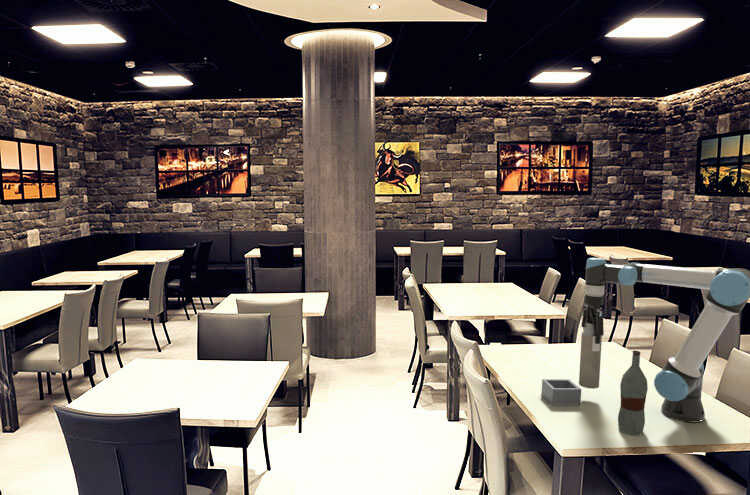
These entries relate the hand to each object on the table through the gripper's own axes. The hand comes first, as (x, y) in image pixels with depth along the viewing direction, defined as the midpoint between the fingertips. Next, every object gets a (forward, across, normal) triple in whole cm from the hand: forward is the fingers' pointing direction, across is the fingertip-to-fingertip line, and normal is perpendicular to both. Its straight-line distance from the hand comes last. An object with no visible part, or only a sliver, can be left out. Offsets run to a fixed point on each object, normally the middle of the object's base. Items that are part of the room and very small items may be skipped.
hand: (591, 347), depth 229 cm
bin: (+23, +1, -12) cm, 26 cm away
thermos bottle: (+16, 0, 0) cm, 16 cm away
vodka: (+23, +30, +3) cm, 38 cm away
